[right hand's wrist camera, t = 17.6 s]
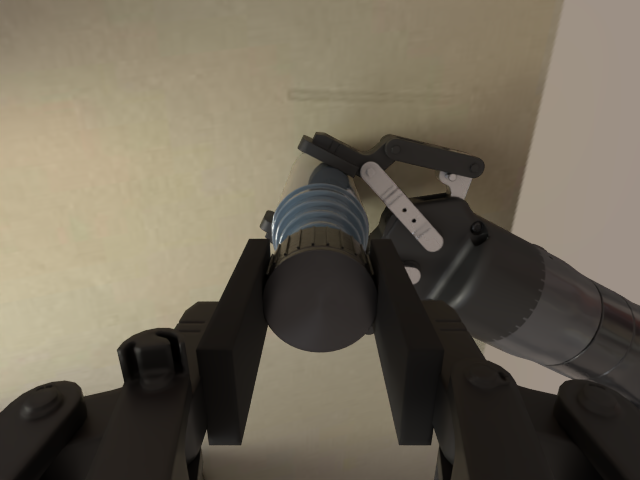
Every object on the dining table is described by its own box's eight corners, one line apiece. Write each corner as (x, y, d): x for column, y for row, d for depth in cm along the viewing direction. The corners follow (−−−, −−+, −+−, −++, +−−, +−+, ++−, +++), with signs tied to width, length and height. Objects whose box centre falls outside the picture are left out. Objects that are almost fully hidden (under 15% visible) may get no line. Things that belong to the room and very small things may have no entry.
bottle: (342, 140, 29) (375, 212, 12) (356, 199, 31) (403, 338, 13) (282, 156, 30) (228, 249, 12) (299, 214, 31) (273, 367, 14)
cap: (247, 279, 15) (235, 310, 12) (312, 202, 13) (311, 223, 11) (326, 335, 15) (327, 373, 13) (393, 267, 14) (406, 297, 12)
